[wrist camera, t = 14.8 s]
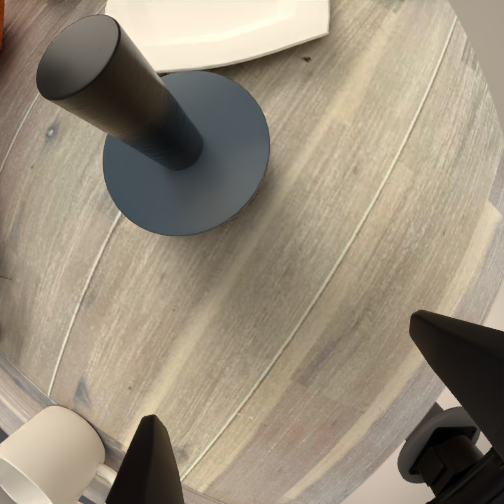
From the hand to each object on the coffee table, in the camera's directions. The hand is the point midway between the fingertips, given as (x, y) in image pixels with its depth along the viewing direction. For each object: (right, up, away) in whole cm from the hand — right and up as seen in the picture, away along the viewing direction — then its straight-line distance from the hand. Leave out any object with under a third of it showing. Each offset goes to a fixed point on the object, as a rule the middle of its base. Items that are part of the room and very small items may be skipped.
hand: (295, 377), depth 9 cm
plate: (-5, +26, +11) cm, 29 cm away
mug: (-18, -16, +15) cm, 28 cm away
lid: (-5, +9, +7) cm, 13 cm away
